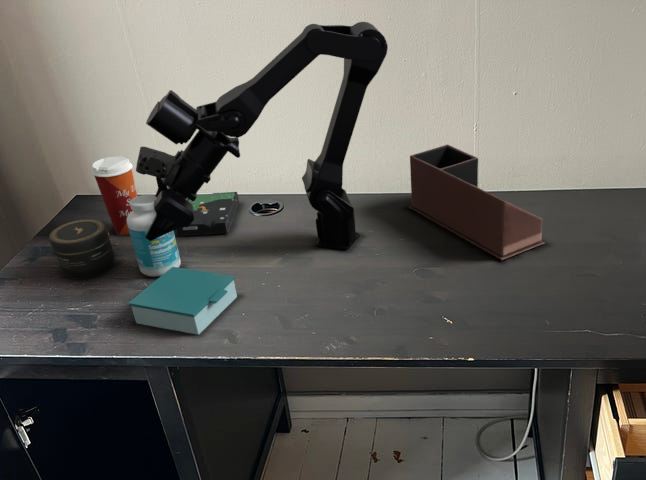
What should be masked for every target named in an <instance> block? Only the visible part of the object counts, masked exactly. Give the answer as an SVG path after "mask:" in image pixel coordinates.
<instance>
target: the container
mask: <svg viewBox="0 0 646 480" xmlns="http://www.w3.org/2000/svg"><path fill="white" fill-rule="evenodd" d="M235 279H236V277H235V275H229V274H222V273H216V272H211V271H210V272H209V271H203V270H197V269H191V268H184V267H179V268H178V267H172V268H170V269H169V270H168V271H167V272H166V273H164V274H163V275H162V276H158V278H157V279H156V280H155V281H153V282H152V283H151V284H150V285H148V286H147V287H145V288H144V290H142V291H141V292H140V293H139V294H138V295H136V296H135V297H134V298H132V300H130V301H129V302H128V306H130V308H131V310H132V313H133V316H134V320H135V323H136V324H139V325H144V326H149V327H155V328H159V329H165V330H170V331H177V332H180V333H181V332H182V333H186V334H191V335H197V336H199V335H200V334H201V333H202V332H203V331H204V330H206V328H207V327H208V326H210V324H212V322H214V321H215V320H216V319H217V317H218V316H220V314H221V313H222V312H224V311H225V310H226V308H228V307H229V306H230V304H232V303H233V302H234V301H235V300H236V299H237V298H238V295H237V289H236V285H235Z"/></svg>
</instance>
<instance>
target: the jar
mask: <svg viewBox="0 0 646 480" xmlns="http://www.w3.org/2000/svg"><path fill="white" fill-rule="evenodd" d="M48 239H49V244H50V246H51V250H52V251H53V253H54V256H55V259H56V262H57V264H58V267H59V269H60V270H61V271H62V273H63V274H64V275H65V276H66V277H69V278H71V279H73V280H74V279H75V280H87V279H92V278H96V277H98V276H102V275H103V274H105V273H107V272H108V271H110V270H111V268H112V267H113V266H114V264H115V251H114V249H113V245H112V243H111V239H110V233H109V231H108V228H107V227H106V225H105V223H104V222H103V221H100V220H97V219H79V220H74V221H70V222H67V223H63V224H61V225H59V226H58V227H56V228H55V229H53V230H52V231H51V232H50V234H49V236H48Z"/></svg>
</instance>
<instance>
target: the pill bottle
mask: <svg viewBox="0 0 646 480" xmlns="http://www.w3.org/2000/svg"><path fill="white" fill-rule="evenodd" d="M156 199H157V197H156V196H155V195H153V194H142V195H137V197H135V198H133V199H131V200H130V206H131V209H132V210H133V211H132V212H131V213H130V214H129V215H128V217H127V225H128V229H129V233H130V234H129V236H130V239H131V243H132V247H133V250H134V254H135V257H136V260H137V264H138V269H139V271H140V272H141V273H142V274H143V275H145V276H148V277H153V278H154V277H155V278H156V277H161V276H162V275H163V274H164V273H166V272H167V271H168V270H169V269H170V268H172V267H178V268H180V266H181V264H182V263H181V262H182V261H181V256H180V252H179V248H178V244H177V239H176V235H175V230H174V231H171V232H169V233H167V234H165V235H163V236H160V237H158V238H156V239H154V240H152V241H149V240H148V239H146V234H147V232H148V230H149V228H150V226H151V224H152V222H153V220H154V218H155V216H156V211H155V209H154V201H156Z"/></svg>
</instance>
